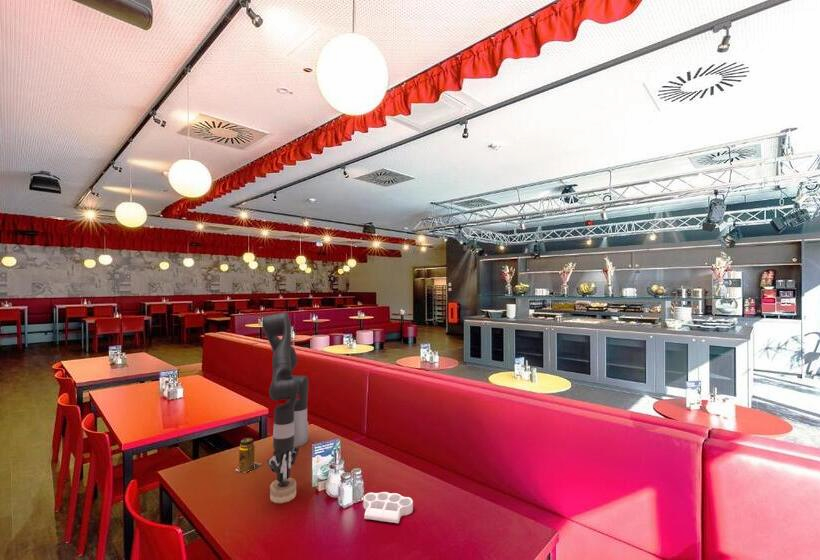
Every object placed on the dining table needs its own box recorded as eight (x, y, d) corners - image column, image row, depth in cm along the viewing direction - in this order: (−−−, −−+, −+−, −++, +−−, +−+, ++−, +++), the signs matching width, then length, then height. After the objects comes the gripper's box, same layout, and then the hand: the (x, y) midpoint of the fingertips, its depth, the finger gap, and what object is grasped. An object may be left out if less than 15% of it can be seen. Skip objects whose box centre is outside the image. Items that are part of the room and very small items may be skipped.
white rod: (283, 487, 142) (283, 454, 142) (288, 488, 140) (288, 456, 140) (278, 490, 139) (278, 457, 140) (283, 491, 138) (283, 458, 138)
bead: (284, 487, 146) (284, 475, 146) (300, 493, 142) (301, 481, 142) (265, 498, 138) (265, 486, 138) (282, 505, 134) (282, 493, 134)
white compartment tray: (355, 520, 127) (368, 496, 141) (407, 528, 123) (415, 502, 137) (355, 510, 127) (368, 487, 141) (407, 517, 123) (415, 493, 137)
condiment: (234, 470, 159) (234, 442, 159) (249, 461, 167) (249, 434, 167) (247, 473, 156) (248, 444, 156) (262, 464, 164) (262, 436, 164)
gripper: (290, 425, 148) (290, 469, 148) (261, 438, 136) (261, 486, 136) (304, 429, 144) (304, 474, 144) (276, 442, 132) (275, 491, 132)
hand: (283, 479), depth 140 cm, fingers closed on white rod, 2 cm apart
